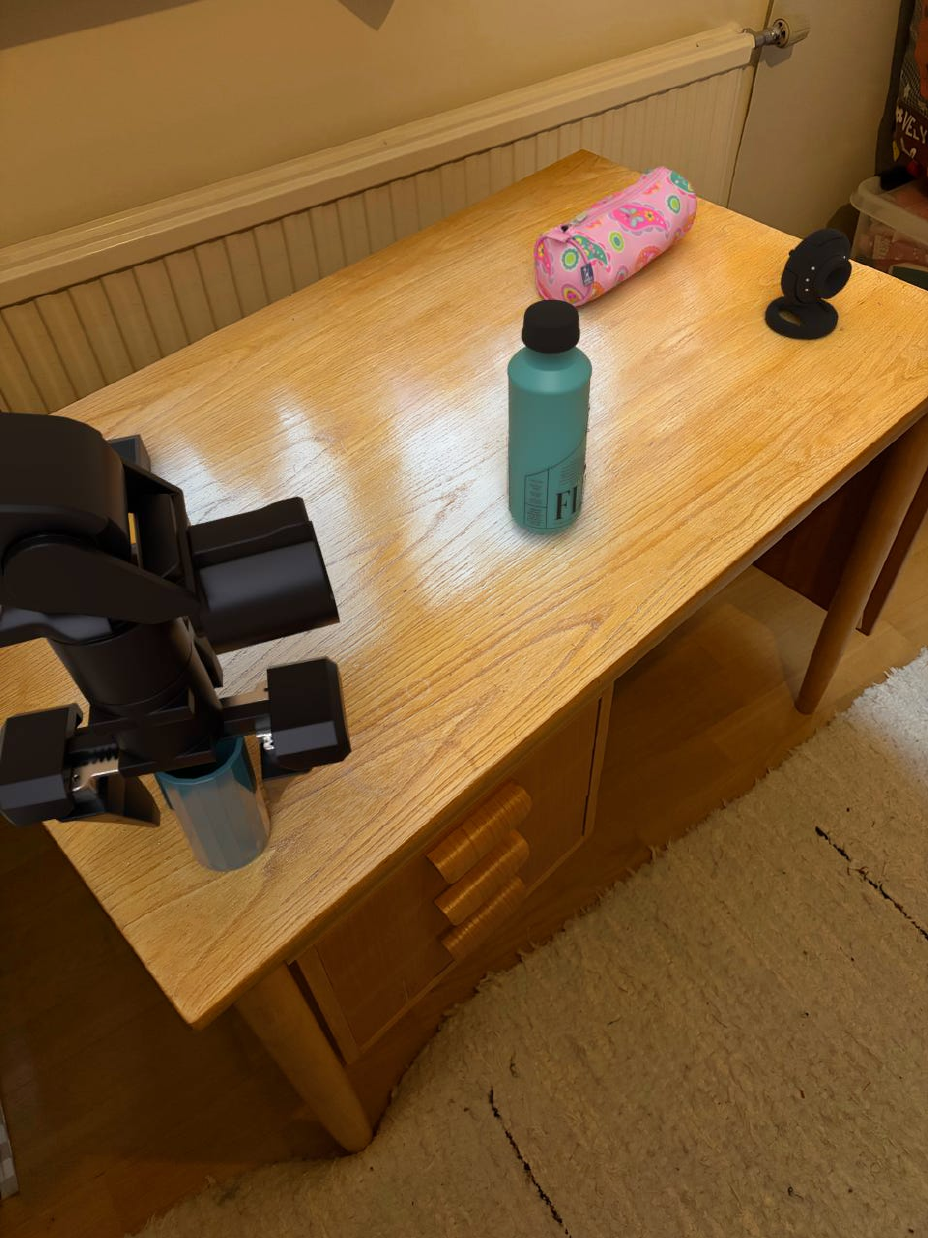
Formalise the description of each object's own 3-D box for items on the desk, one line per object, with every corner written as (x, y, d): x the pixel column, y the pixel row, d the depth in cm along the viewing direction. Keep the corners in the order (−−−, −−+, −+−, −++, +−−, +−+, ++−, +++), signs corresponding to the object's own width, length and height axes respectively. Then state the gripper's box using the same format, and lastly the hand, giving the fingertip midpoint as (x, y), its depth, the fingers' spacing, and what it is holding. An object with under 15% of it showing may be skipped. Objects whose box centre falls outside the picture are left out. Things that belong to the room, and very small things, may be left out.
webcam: (795, 349, 91) (822, 257, 83) (748, 315, 95) (769, 225, 88) (852, 327, 93) (883, 235, 86) (804, 296, 98) (829, 205, 90)
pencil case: (583, 325, 95) (589, 245, 88) (520, 296, 100) (522, 217, 93) (697, 250, 105) (710, 173, 98) (635, 227, 109) (644, 151, 102)
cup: (172, 852, 57) (126, 763, 49) (218, 786, 60) (183, 692, 52) (242, 884, 56) (207, 798, 47) (285, 815, 59) (260, 723, 50)
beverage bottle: (555, 559, 73) (567, 348, 58) (490, 527, 76) (486, 317, 60) (596, 515, 76) (618, 303, 61) (533, 486, 79) (539, 277, 64)
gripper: (307, 515, 49) (349, 678, 61) (-35, 574, 47) (76, 731, 59) (327, 671, 42) (370, 821, 54) (-75, 747, 40) (61, 885, 52)
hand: (217, 808), depth 55 cm, fingers closed on cup, 7 cm apart
